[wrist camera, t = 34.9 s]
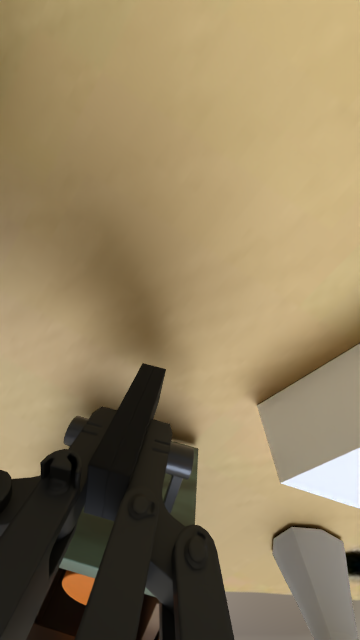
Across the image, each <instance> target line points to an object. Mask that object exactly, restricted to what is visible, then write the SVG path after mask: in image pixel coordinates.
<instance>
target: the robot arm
mask: <svg viewBox="0 0 360 640" xmlns="http://www.w3.org/2000/svg"><path fill="white" fill-rule="evenodd" d="M165 371H166V369H163V368H159V367H155V366H151V365H147V364H144V363H143V364H142V366H141V367H140V369H139V371H138V373H137V375H136V377H135V379H134V380H133V382H132V384H131V386H130V388H129V390H128V392H127V393H126V395H125V397H124V399H123V401H122V403H121V404H120V406H119V408H118V410H113V409H110V408H106V407H100V408H99V409H98V410H96V411H95V412H94V413H92V415H91V416H90V418H89V419H88V421H87V423H86V424H85V425H84V427H83V428H82V430H81V431H80V433H79V434H78V436H77V437H76V439H75V440H74V442H73V443H72V445H71V446H70V448H69V449H62V450H58V451H55V452H53V453H51V454H50V455H48V456H47V457H46V458H45V459H44V460H43V461H42V462H41V475H40V476H37V477H32V478H20V479H11V476H10V475H9V474H8V472H5V471H2V470H0V640H26V639H27V636H28V634H29V632H30V630H31V628H32V625H33V623H34V621H35V619H36V617H37V614H38V612H39V610H40V608H41V606H42V604H43V601H44V599H45V597H46V595H47V593H48V590H49V588H50V586H51V584H52V582H53V579H54V577H55V575H56V573H57V571H58V568H59V566H60V564H61V562H62V560H63V557H64V555H65V553H66V551H67V549H68V547H69V544H70V542H71V540H72V538H73V536H74V533H75V530H76V527H77V520H78V518H79V516H80V514H81V512H82V510H83V507H84V513H87V514H91V515H94V516H98V517H101V518H105V519H108V520H111V521H114V524H113V527H112V530H111V533H110V536H109V539H108V542H107V545H106V548H105V551H104V554H103V557H102V560H101V563H100V566H99V569H98V572H97V575H96V578H95V581H94V584H93V587H92V590H91V592H90V595H89V598H88V601H87V604H86V607H85V610H84V613H83V616H82V619H81V622H80V625H79V628H78V631H77V634H76V637H75V640H136V636H137V630H138V625H139V619H140V614H141V608H142V603H143V597H144V592H145V587H146V588H147V589H148V590H149V591H150V592H151V593H152V594H153V595H154V596H155V597H156V598H157V599H158V600H159V637H160V640H234V635H233V630H232V625H231V620H230V615H229V610H228V606H227V600H226V595H225V590H224V585H223V579H222V574H221V569H220V564H219V559H218V554H217V550H216V547H215V544H214V541H213V539H212V538H211V536H210V535H209V533H208V532H207V531H206V530H205V529H203V528H202V527H201V526H198V525H193V524H192V525H189V526H184V525H183V524H182V523H180V522H179V521H178V520H176V519H175V518H174V517H173V516H172V515H171V514H170V513H169V512H168V510H167V509H166V507H165V505H164V502H163V497H162V488H163V483H164V477H165V472H166V466H167V461H168V455H169V450H170V444H171V439H172V430H171V426H170V424H168V423H164V422H161V421H157V420H153V419H154V415H155V412H156V409H157V406H158V402H159V398H160V393H161V389H162V384H163V380H164V376H165Z"/></svg>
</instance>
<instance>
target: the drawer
mask: <svg viewBox="0 0 360 640" xmlns="http://www.w3.org/2000/svg"><path fill="white" fill-rule="evenodd" d="M87 421H88V418H84V417H81V416H76V417H75V418H74V419H73V420H72V422H71V423H70V425H69V427H68V429H67V431H66V434H65V437H64V444H65V445H68V446H71V445H72V443H73V442H74V440H75V439H76V437H77V436H78V434H79V433H80V431H81V430H82V428H83V427H84V425H85V424H86V423H87ZM197 464H198V448H194V447H191V446H187V445H184V444H180V443H177V442H173V441H171V444H170V450H169V455H168V461H167V466H166V472H165V477H164V483H163V488H162V497H163V502H164V505H165V507H166V509H167V510H168V512H169V513H170V514H171V515H172V516H173V517H174V518H175V519H176V520H178V521H179V522H180V523H182V524H183V525H184V526H189V525H192V524H193V525H195V509H196V487H197ZM113 524H114V521H111V520H108V519H105V518H101V517H98V516H94V515H91V514H87V513H84V507H83V510H82V512H81V514H80V516H79V518H78V520H77V527H76V530H75V533H74V536H73V538H72V540H71V542H70V544H69V547H68V549H67V551H66V553H65V555H64V557H63V560H62V562H61V564H60V566H59V568H58V571H57V573H56V575H55V577H54V579H53V582H52V584H51V586H50V588H49V590H48V593H47V595H46V597H45V599H44V601H43V604H42V606H41V608H40V610H39V612H38V614H37V617H36V619H35V621H34V623H37V624H40V625H43V626H47V627H50V628H53V629H56V630H59V631H62V632H66V633H69V634H72V635H75V636H76V634H77V631H78V628H79V625H80V622H81V619H82V616H83V613H84V610H85V607H86V605H84V604H82V603H79V602H78V601H76V600H74V599H73V598H71V597H70V596H69V595H68V594H67V593H66V592H65V590H64V589H63V587H62V580H63V577H64V575H65V573H66V570H69V571H72V572H75V573H78V574H82V575H85V576H88V577H92V578H96V575H97V572H98V569H99V566H100V563H101V560H102V557H103V554H104V551H105V548H106V545H107V542H108V539H109V536H110V533H111V530H112V527H113ZM158 630H159V600H158V599H157V598H156V597H155V596H154V595H153V594H152V593H151V592H150V591H149V590H148V589H147V588H146V587H145V592H144V597H143V603H142V608H141V614H140V619H139V625H138V630H137V636H136V640H154V638H155V636H156V634H157V632H158Z"/></svg>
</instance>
